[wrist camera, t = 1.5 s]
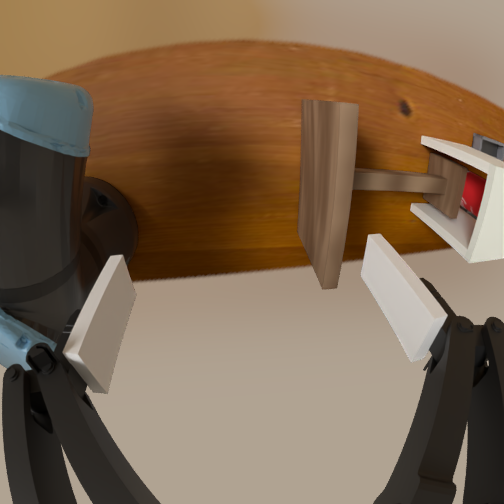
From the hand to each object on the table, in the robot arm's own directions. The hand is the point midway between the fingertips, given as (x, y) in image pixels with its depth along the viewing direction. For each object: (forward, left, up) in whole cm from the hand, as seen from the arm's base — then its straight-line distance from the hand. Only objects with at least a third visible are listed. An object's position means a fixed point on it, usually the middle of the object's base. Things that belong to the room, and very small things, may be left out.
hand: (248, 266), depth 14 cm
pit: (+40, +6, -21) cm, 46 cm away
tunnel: (+30, 0, -21) cm, 36 cm away
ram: (+18, 0, -20) cm, 27 cm away
